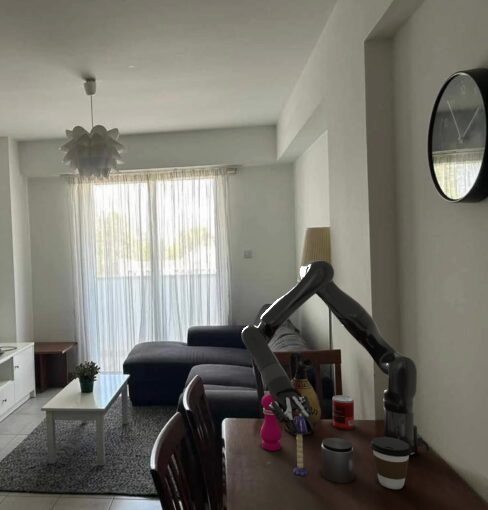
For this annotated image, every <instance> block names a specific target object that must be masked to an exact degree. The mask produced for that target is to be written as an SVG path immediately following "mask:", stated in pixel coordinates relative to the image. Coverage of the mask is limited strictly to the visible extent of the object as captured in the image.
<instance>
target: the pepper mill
mask: <svg viewBox="0 0 488 510" xmlns="http://www.w3.org/2000/svg"><path fill="white" fill-rule="evenodd" d="M272 402H275V400H274V399H273V398H272V396H271V394H270V392H269V391H268V390H267V393H266V394H265V395H263V397H262V398H261V405H262V407H263V408H262V413H263V414H264V421H263V422H262V423H263V424H262V425H261V427H260V428H261V429H260V433H259V435H260V438H261V439H262V440H261V447H262V448H263V449H264V450H266V451H278V450H281V449H280V448H281V442H280V441H281V439H282V431H281V429H280V426H279V423H278V421H277V420H278V419H277V417H276V416H275V415H274V414H273V412H272V411H271V410H270V408H269V405H270V404H271V403H272Z"/></svg>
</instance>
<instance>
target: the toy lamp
mask: <svg viewBox="0 0 488 510" xmlns="http://www.w3.org/2000/svg"><path fill="white" fill-rule="evenodd" d="M294 421H295V423H296V425H297V427H298V429H299V431H300V432H299V433H298V434H297V435H296V457H297V458H296V462H297V464H296V466H295V467H294V468H293V470H292V474H293V475H294V476H295V477H299V478H305V477H307V476H308V475H309V473H308V470H307V469H306V468H305V467H304V453H303V451H304V449H303V448H304V447H303V446H304V444H303V436H304V435H303V434H305V433H307V432H308V429H307V425H306V422H305V419H304V418H303V417H300V416H297V417H295V418H294Z"/></svg>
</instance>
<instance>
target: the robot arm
mask: <svg viewBox="0 0 488 510" xmlns="http://www.w3.org/2000/svg"><path fill="white" fill-rule="evenodd" d="M299 275H300V278H301V279H300V281H299V282H298V283H297V284H296V285H295V286H294V287H292V288H291V289H290V290H289V291H288V292H287V293H285V294H284V295H282V296H281V297H280V298H278V299H277V300H276V301H274V302H273V304H272V305H270V307H269V308H268V309H266V310H265V312H264V313H263V314H262V315H261V317H260V323H259V325H258V326H256V325H247V326H246V327H244V328H243V330H242V332H241V340H242V342H243V344H244V346H245V347H246V350H247V351H248V352H249V354H250V356H251V357H252V359H253V361H254V364H255V366H256V368H257V370H258V372H259V373H260V375H261V379H262V381H263V383H264V384H265V387H266V389H267V392H268V391H269V392H270V394H271V396H272V398H273V399H274V400H275V402H272V403H271V404H270V405H269V408H270V410H271V411H272V412H273V414H274V415H275V416H276V420H278V421H279V423H281V424H282V423H284V422H286V423H287V424H288V426H289V428H290V430H291V432H292V433H294V434H293V435H294V436H297V434H298V433H299V432H300V431H299V429H298V427H297V425H296V423H295V421H294V420H292V419H293V418H292V414H291V413H292V411H293V412H294V413H295V414H296V415H299V416H300V417H303V418H304V419H305V422H306V425H307V429H308V432H311V433H312V432H313V430H314V429H315V427H314V426H313V424H312V422H311V420H310V419H309V416H310V415H311V414H312V410H311V407H310V404H309V401H308V398H307V396H304V397H299V396H298V395H297V394H296V393H295V389H294V386H293V385H292V383H291V379H290V378H289V376H288V374H287V372H286V370H285V369H284V367H283V366H282V365H281V362H280V361H279V359H278V358H277V356H276V354H275V353H274V352H273V350H272V349H271V348H270V346H269V344H270V342H271V341H272V339H273V338H274V336H275V335H276V334H277V332H278V330H279V329H280V328H281V327H282V326H283V325H284V324H285V323H286V322H287V321H288V320H289V319H291V317H292V316H293V315H294V314H295V313H296V312H297V311H298V310H299V309H300V308H301V307H302V306H303V305H305V303H306V302H308V301H309V299H311V298H312V297H313V296H315V295H316V296H318V298H319V299H321V301H322V302H323V303H324V304H325V305H326V307H328V310H330V312H331V313H332V314H333V316H334V317H335V318H336V319H337V320H338V321H339V324H341V326H343V328H344V329H345V330H346V331H347V332H348V333H349V334H350V335H351V336H352V337H353V339H354V340H356V341H357V342H358V344H359V345H361V346H362V347H363V349H365V350H366V352H367V353H368V354H369V356H370V357H371V358H372V360H373V361H374V363H375V364H376V366H377V367H378V369H379V370H380V372H382V374H383V375H384V376H386V377H387V378H388V382H387V383H388V385H387V389H385V390H383V436H382V437H391V438H395V439H399V440H402V441H404V442H406V443H407V444H409V446H410V448H411V450H412V453H411V454H410V455H409V457H412V456H415V455H416V456H417V455H418V454H419V453H418V447H423V445H424V446H425V451H426V452H430V446H429V444H428V443H427V442H426V441H425V440H424V439H423V437H422V436H421V435H420V434H418V425H416V424H415V397H416V395H417V391H418V390H417V389H418V369H417V365H416V362H415V361H414V360H413V359H412V358H411V357H409V356H407V355H405V354H402V353H400V352H399V351H398V350H396V349H395V348H394V347H393V346H392V345H391V344H390V343H389V342H388V340H386V339H385V338H384V337H383V335H382V333H381V330H380V329H379V326H378V324H377V323H376V321H375V319H374V318H373V316H372V315H371V314H369V312H368V311H367V309H365V307H364V306H363V305H362V304H361V303H360V302H358V301H357V300H356V299H354V298H353V297H352V296H350V295H349V294H348V293H346V292H345V291H344V290H342V289H341V288H340V287H339V286H338V285H337V284H336V283H335V281H334V277H335V269H334V267H333V265H332V264H331V262H328V261H327V260H320V259H317V260H309V261H306V262H304V264H302V266H301V268H300V271H299ZM279 407H280V408H281V409H282V410H281V409H280V408H279ZM298 408H299V410H297V409H298ZM301 412H302V413H303V414H302V413H301ZM313 427H314V428H313ZM292 433H291V434H292Z"/></svg>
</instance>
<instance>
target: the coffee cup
mask: <svg viewBox="0 0 488 510" xmlns="http://www.w3.org/2000/svg"><path fill="white" fill-rule="evenodd" d="M369 446H370V448H371V449H372V455H373V461H374V467H375V471H376V473H377V478H378V482H379V484H380V485H381V486H383V487H385V488H387V489H390V490H391V489H392V490H400V489H403V487H404V485H405V481H406V477H407V474H408V468H409V462H410V456H409V455H410V454H411V453H412V450H411V448H410V446H409V444H407V443H406V442H404V441H402V440H399V439H395V438H391V437H383V436H378V437H374V438H373V439H371V442H370V443H369Z"/></svg>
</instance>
